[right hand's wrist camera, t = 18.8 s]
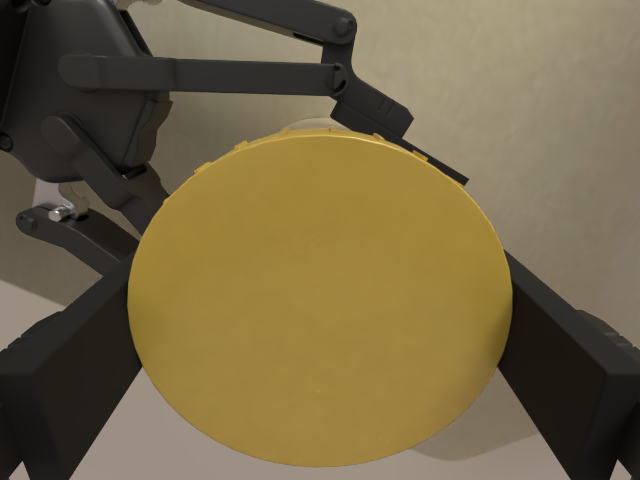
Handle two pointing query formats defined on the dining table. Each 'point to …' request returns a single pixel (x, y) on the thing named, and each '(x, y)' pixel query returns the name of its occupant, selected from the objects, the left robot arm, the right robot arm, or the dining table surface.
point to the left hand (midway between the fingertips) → (396, 263)
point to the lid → (319, 298)
